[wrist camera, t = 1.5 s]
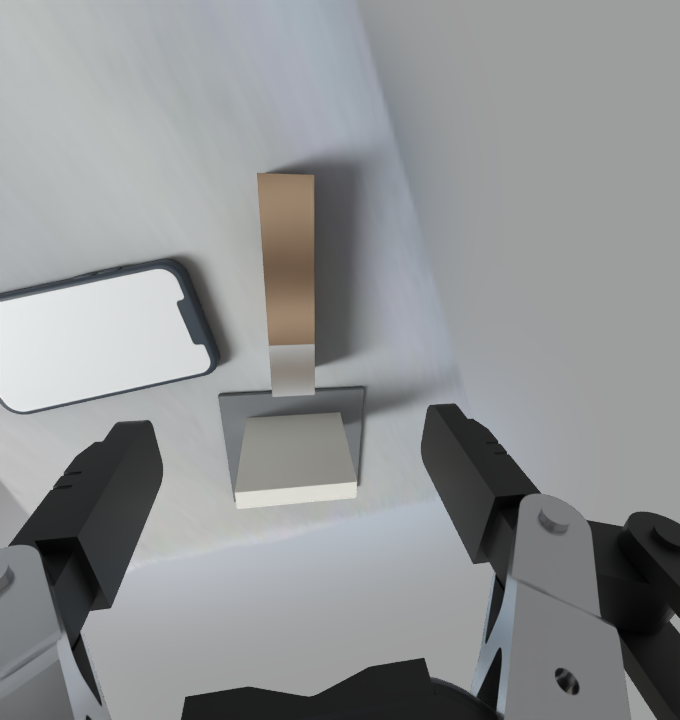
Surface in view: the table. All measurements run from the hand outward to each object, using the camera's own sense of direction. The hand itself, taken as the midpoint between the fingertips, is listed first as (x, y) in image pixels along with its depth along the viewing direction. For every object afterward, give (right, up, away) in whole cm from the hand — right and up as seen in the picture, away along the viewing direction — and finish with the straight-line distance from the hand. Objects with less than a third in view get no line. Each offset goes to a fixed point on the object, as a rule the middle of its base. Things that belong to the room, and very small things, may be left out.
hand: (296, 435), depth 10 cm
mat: (-3, -6, +22) cm, 23 cm away
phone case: (-16, +4, +15) cm, 23 cm away
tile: (-3, -3, +20) cm, 20 cm away
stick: (-2, +8, +15) cm, 17 cm away
